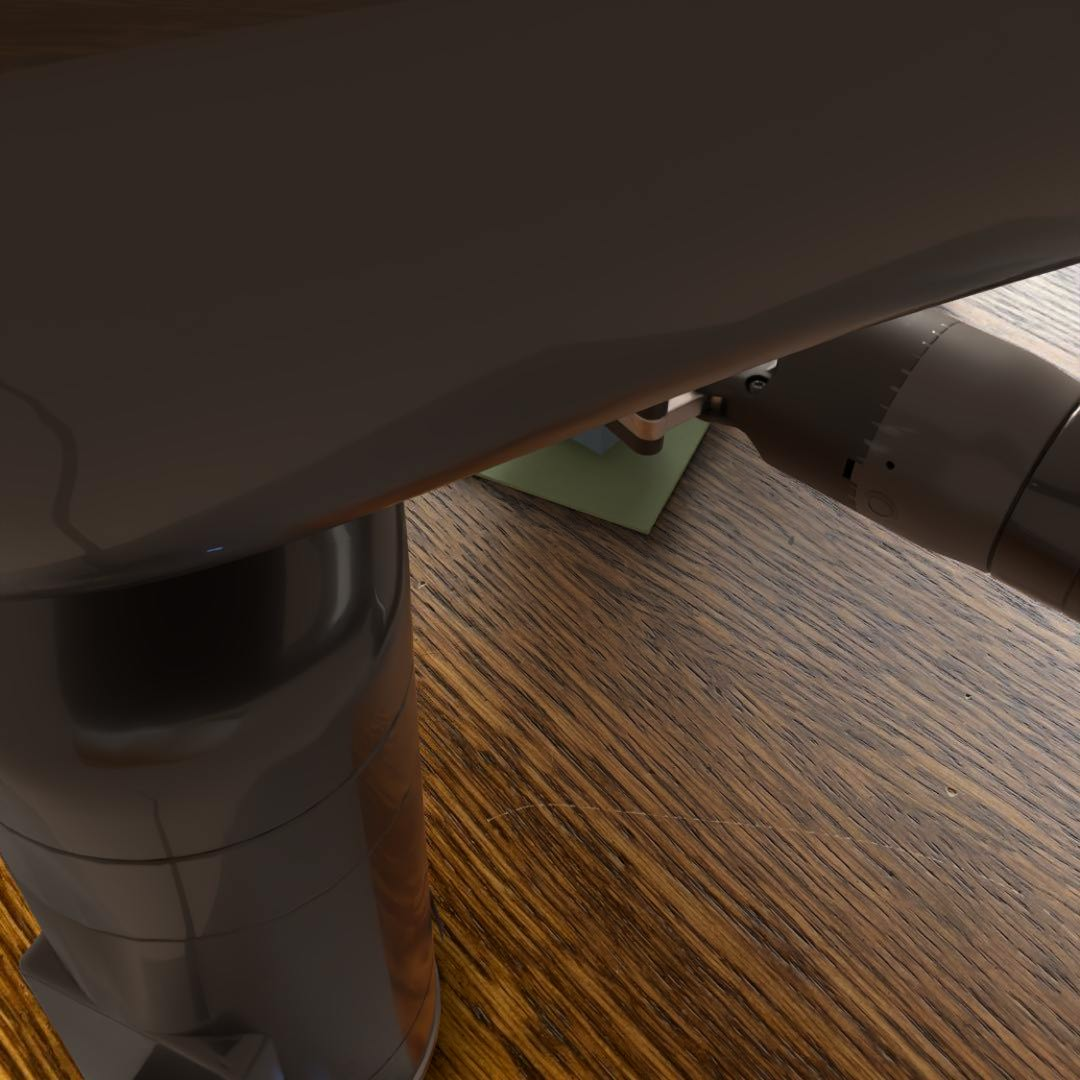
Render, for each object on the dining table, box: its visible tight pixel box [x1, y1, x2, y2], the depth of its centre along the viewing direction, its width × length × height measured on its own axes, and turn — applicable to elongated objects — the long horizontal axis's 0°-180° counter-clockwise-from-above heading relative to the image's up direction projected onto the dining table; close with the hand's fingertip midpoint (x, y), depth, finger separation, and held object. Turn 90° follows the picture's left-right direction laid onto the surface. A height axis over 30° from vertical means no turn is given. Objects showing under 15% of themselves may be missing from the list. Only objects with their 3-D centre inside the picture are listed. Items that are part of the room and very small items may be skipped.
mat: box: [474, 417, 712, 536], centre depth 57 cm, size 11×11×1 cm
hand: (551, 242), depth 52 cm, fingers closed on slate block, 5 cm apart
